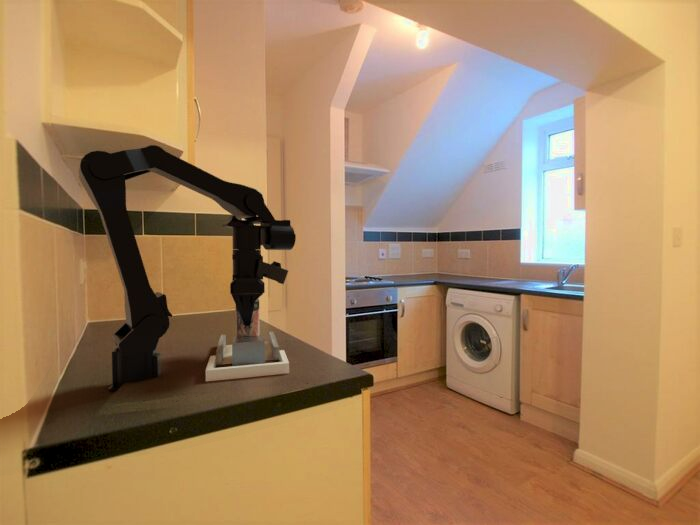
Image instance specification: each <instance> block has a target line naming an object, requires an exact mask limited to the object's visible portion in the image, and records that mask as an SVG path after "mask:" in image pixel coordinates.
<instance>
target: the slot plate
mask: <svg viewBox="0 0 700 525" xmlns="http://www.w3.org/2000/svg"><path fill="white" fill-rule="evenodd" d="M268 334H269V335H268V341H265V362H266V361H276V360H277V361H278V360H279V350H280V346H279V344H278V341H277V338H276V334H275V332H274V331H269V332H268ZM226 342H227V339H226V334H221V335H220V337H219V340H218V343H217V344H218V345H217V346H216V350H215V355H216V366H217V365H218V366H220V365H228V364H229V365H230V364H232V344H227V343H226Z"/></svg>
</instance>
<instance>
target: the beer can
mask: <svg viewBox="0 0 700 525" xmlns="http://www.w3.org/2000/svg"><path fill="white" fill-rule="evenodd" d="M246 336H260V299H259V298H258V299H257V300H256V301H255V305H254V310H253V315H252V320H251V325H250V326H245V325H244V323H243V321H242V318H241V316H240V313H239V311H238V309H237V306H236V305H235V337H246Z"/></svg>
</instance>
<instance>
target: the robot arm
mask: <svg viewBox="0 0 700 525" xmlns="http://www.w3.org/2000/svg"><path fill="white" fill-rule="evenodd" d="M78 167H79V168H78V172H77V173H78V178H79V182H80V183H81V185H82V186H83V189H84V190H85V192H86V194H87V196H88V197H89V199H90V200H91V203H92V204H93V205H94V207H95V208H96V210H97V212H98V213H99V215H100V219H101V222H102V225H103V228H104V231H105V234H106V237H107V241H108V244H109V248H110V250H111V253H112V256H113V260H114V263H115V265H116V269H117V272H118V275H119V277H120V279H119V280H120V281H121V285H122V287H123V291H124V293H123V295H124V296H123V298H124V313H125V314H124V315H125V322H124V324H122V325H121V326H120V327H119V328H118V329H117V330H116V331H115V332H114V333H113V334H112V339H113V341H114V343H115V345H116V346H117V348H115V349H114V350H112V351H111V373H112V374H111V376H112V380H111V382H112V384H111V385H110V386H109V387H108V391H109V392H114V391H116V392H117V391H119V389H120V388H122V386H123V385H124V384H129V383H132V384H133V383H138V382H142V381H146V380H150V379H154V378H155V379H156V378H159V376H160V375H161V374H162V368H161V367H162V363H161V361H162V358H161V356H162V355H161V353H160V352H158V343H159V340H160V338H162V337H163V336H164V335H165V334H166V333H167V331H168V330H169V328H170V318H172V317H173V314H172V313H171V312H170V310H169V308H168V299H167V295H166V294H165V293H162V292H159V291H157V292H155V291H154V290H153V288H152V286H151V284H150V280H149V278H148V275H147V272H146V271H147V270H146V268H145V265H144V261H143V258H142V255H141V252H140V248H139V245H138V242H137V238H136V236H135V232H134V229H133V226H132V222H131V220H130V217H129V213H128V210H127V187H126V181H127V180H130V179H133V178H137V177H139V176H143V175H145V174H146V175H147V174H148V173H154V174H157V175H158V176H160V177H163V178H165V179H168V180H170V181H172V182H174V183H176V184H179V185H180V186H183V187H185V188H187V189H190V190H192V191H193V192H196V193H198V194H200V195H201V196H202V195H203V196H205V197H207V198H209V199H211V200H213V201H214V202H216V203H217V205H219V206H220V207H221V209H223V210H225V211H226V212H228V213H229V214H230V215H231V216H229V217H228V219H227V220H226V221H225V222H223V223H222V224H221V227H222V228H229V229H231V230H232V236H231V237H232V255H231V256H232V258H231V260H232V281H231V282H230V285H229V288H230V290H229V292H230V295H231V297H232V299H233V301H234V304H235V307H236V306H237V309H238V311H239V313H240V316H241V318H242V321H243V323H244V325H245V326H250V325H251V320H252V315H253V310H254V305H255V301H256V300H257V299H259V298H260V297H261V296H263V295H264V294H265V292H266V291H265V290H266V289H265V287H266V286H265V282H264V281H263V280H264V278H267V279H269V280H271V281H276V282H277V283H279V284H281V285H284V284H285V282H286V278H287V276H288V273H289V270H288V269H285V268H282V264H281V263H282V262H281V263H280V262H278V261H275V260H273V261H272V262H271V263H268V262H265V261H264V256H263V255H262V249H261V248H262V247H263V249H264V250H265V251H266V250H267V251H290V250H293V248H294V247H295V244H296V241H297V240H296V239H297V236H296V234H295V231H294V230H295V229H294V228H293V226H292V225H291V220H289V219H281V220H280V219H278V220H277V219H276V218H275V217H274V215H273V214H272V212H271V211H270V209H269V208H268V206H267V204H266V203H265V199H264V196H263V193H262V192H261V191H259V190H258V189H256V188H253V187H252V186H251V187H250V186H247V185H244V184H241V183H235V182H229V181H227V180H223V179H221V178H220V177H217V176H215V175H213V174H212V173H209V172H208V171H205V170H204V169H202V168H200V167H198V166H196V165H194V164H192V163H189V162H188V161H186V160H183V159H182V158H180V157H178V156H176V155H174V154H172V153H170V152H168V151H166V150H165V149H164V148H162V147H161V146H159V145H156V144H150V145H147V146H145V147H139V148H133V149H125V150H120V151H116V152H111V153H110V152H107V151H106V150H105V151H104V150H94V151H90V152H88V153H86V154H85V155H84V156H83V157H82V159H81V160H80V163H79V166H78ZM169 317H170V318H169Z"/></svg>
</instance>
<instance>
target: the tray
mask: <svg viewBox="0 0 700 525" xmlns="http://www.w3.org/2000/svg"><path fill="white" fill-rule="evenodd" d="M278 360H279V361H278V362H269V363H268V362H267V363H266V362H265V364H254V365H243V366H224V367H223V366H222V367H217V365H216V354H215V355H210V357H209V359H208V361H207V362H208V363H207V365H206V368H205V382H214V381H222V380H223V381H225V380H226V381H227V380H233V379H235V380H236V379H244V378H253V377H263V376H264V377H266V376H274V375H285V374H290V361H289V359H288V357H287V354H286V352H285V349H279V359H278Z"/></svg>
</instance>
